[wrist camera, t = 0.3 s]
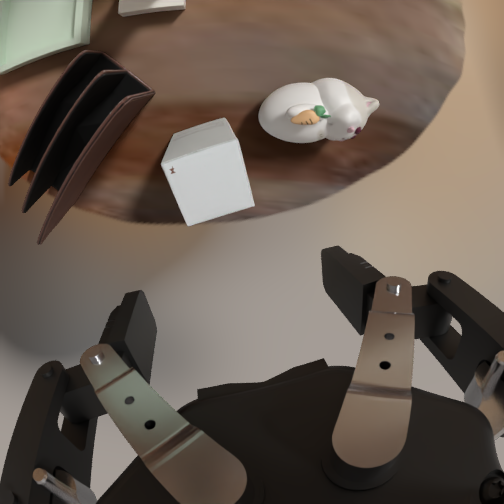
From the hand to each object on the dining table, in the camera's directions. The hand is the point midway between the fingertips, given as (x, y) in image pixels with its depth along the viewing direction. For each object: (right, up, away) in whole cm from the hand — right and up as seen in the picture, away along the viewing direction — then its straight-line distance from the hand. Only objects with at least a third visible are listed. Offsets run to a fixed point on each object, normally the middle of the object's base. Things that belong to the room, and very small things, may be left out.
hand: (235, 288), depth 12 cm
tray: (-27, +33, +6) cm, 43 cm away
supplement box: (-5, +15, +24) cm, 29 cm away
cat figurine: (+8, +21, +22) cm, 32 cm away
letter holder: (-22, +18, +19) cm, 34 cm away
